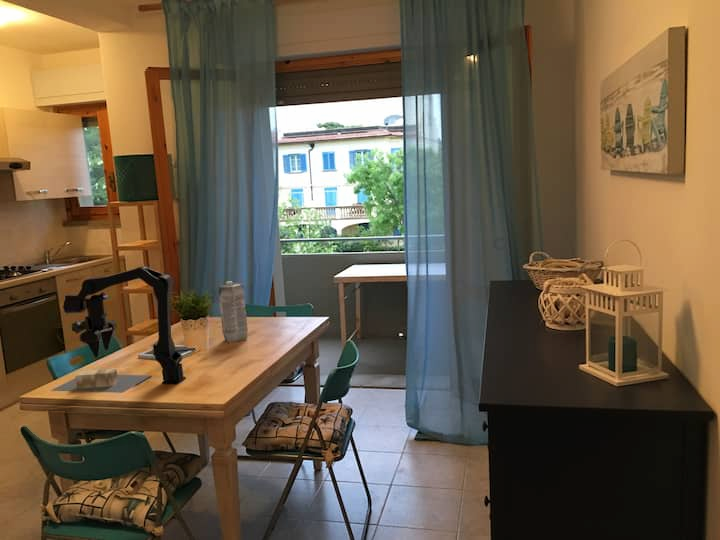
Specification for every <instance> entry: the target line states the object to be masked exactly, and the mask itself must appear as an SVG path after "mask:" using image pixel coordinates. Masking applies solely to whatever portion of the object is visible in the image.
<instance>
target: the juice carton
mask: <svg viewBox="0 0 720 540" xmlns="http://www.w3.org/2000/svg"><path fill="white" fill-rule="evenodd" d="M217 290H218V300H219V310H220V312H219V313H220V321H221V330H222V335H223V337H224V340H225V341H226V342H228V343H233V342H234V343H235V342H240V341H245V340H247V339H248V319H247V309H246V299H245V292H244V285H243V284H241V283H239V282H234V283H233V281H232V280H230V281H229V280H228V281H226V282H225V284H219V285H218V289H217Z"/></svg>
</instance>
